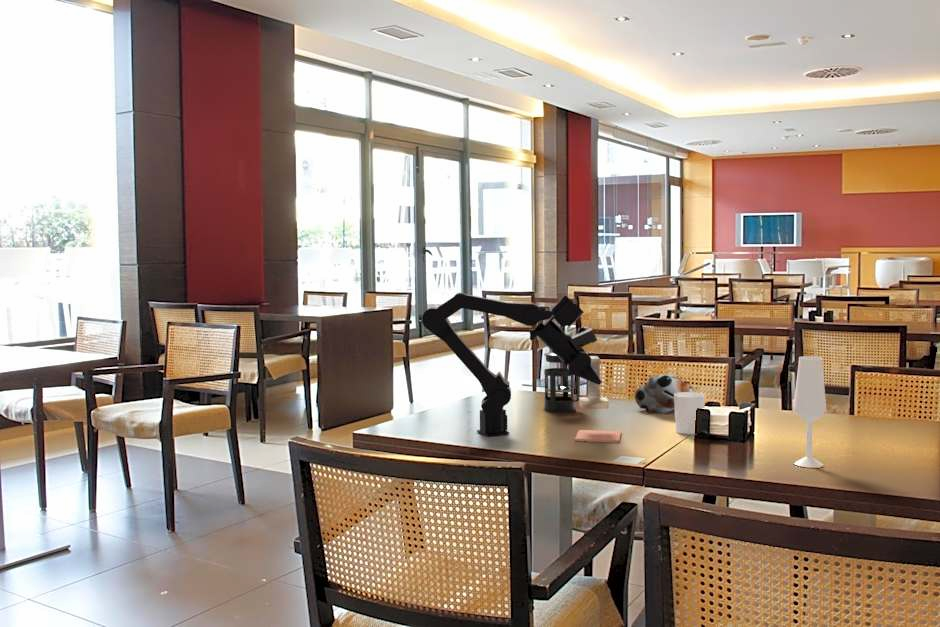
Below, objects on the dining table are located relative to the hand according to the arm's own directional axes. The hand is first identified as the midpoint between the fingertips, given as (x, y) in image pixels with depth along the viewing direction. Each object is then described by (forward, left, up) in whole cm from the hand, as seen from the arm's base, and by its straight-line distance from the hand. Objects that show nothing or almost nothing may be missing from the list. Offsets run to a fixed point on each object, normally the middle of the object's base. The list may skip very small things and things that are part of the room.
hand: (599, 381), depth 232 cm
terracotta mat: (-3, -4, -14) cm, 15 cm away
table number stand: (-1, +1, -7) cm, 7 cm away
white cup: (+21, -11, -14) cm, 27 cm away
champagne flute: (+20, -51, -14) cm, 57 cm away
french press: (+10, +33, -14) cm, 37 cm away
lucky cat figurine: (+35, +16, -14) cm, 41 cm away
